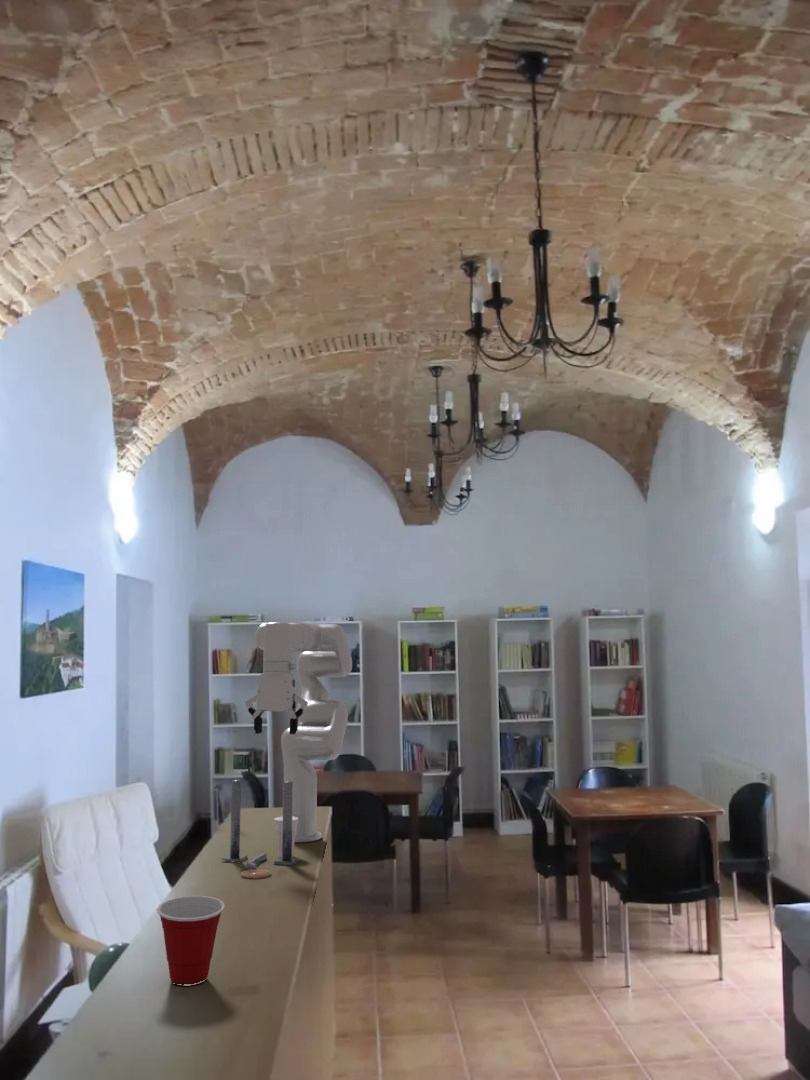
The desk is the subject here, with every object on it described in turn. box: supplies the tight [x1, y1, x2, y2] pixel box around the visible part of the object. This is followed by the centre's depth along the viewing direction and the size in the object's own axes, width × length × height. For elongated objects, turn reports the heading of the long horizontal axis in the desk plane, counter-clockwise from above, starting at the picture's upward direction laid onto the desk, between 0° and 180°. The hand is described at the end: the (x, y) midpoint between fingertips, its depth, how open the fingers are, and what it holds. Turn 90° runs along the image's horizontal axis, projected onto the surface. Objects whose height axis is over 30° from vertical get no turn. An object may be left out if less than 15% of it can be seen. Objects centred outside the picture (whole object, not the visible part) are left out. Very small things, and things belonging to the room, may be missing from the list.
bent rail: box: [246, 852, 268, 870], centre depth 232 cm, size 14×3×2 cm, turn 168°
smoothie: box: [273, 816, 299, 858], centre depth 242 cm, size 6×6×14 cm
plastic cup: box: [156, 895, 226, 985], centre depth 151 cm, size 11×11×12 cm
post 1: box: [221, 779, 248, 863], centre depth 238 cm, size 5×5×20 cm
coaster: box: [240, 868, 272, 880], centre depth 221 cm, size 7×7×1 cm
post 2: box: [273, 781, 300, 866], centre depth 235 cm, size 5×5×20 cm
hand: (275, 733), depth 245 cm, fingers open, 9 cm apart
